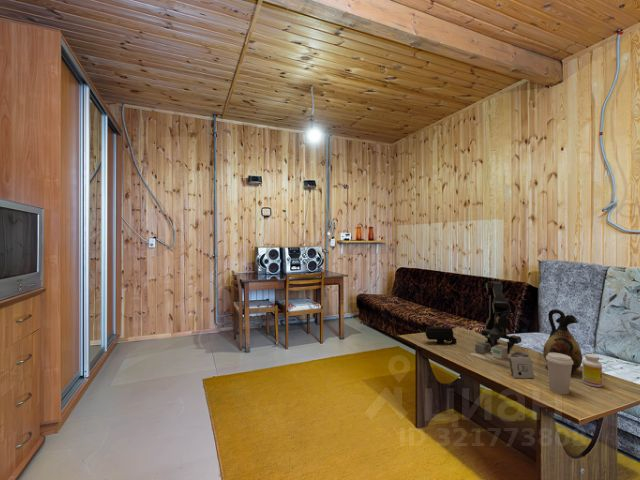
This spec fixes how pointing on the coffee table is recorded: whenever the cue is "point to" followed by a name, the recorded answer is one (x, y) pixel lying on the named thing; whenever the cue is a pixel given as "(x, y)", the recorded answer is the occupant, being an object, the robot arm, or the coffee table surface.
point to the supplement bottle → (592, 371)
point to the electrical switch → (521, 367)
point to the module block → (500, 351)
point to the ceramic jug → (563, 339)
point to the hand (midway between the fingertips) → (500, 351)
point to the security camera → (440, 334)
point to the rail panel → (485, 353)
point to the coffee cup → (559, 372)
